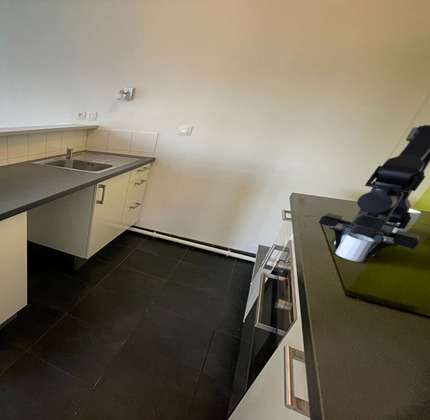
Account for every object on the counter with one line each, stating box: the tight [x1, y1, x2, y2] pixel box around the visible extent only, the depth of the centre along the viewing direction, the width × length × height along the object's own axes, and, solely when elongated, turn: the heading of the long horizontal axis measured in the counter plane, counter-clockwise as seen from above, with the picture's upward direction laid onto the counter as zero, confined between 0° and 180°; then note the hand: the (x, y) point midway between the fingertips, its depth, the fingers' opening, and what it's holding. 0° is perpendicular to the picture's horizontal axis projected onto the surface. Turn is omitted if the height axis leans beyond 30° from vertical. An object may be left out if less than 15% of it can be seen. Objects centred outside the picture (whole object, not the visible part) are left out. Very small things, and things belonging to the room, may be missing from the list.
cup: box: [334, 233, 376, 263], centre depth 76 cm, size 6×6×7 cm
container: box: [333, 227, 382, 257], centre depth 83 cm, size 9×9×5 cm
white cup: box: [392, 208, 422, 233], centre depth 95 cm, size 8×8×10 cm
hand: (350, 253), depth 77 cm, fingers closed on cup, 6 cm apart
